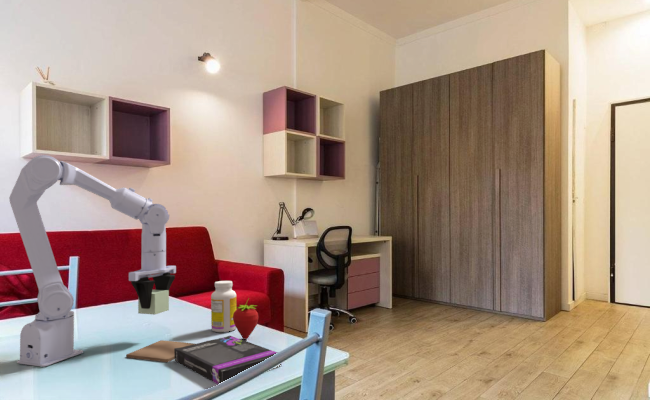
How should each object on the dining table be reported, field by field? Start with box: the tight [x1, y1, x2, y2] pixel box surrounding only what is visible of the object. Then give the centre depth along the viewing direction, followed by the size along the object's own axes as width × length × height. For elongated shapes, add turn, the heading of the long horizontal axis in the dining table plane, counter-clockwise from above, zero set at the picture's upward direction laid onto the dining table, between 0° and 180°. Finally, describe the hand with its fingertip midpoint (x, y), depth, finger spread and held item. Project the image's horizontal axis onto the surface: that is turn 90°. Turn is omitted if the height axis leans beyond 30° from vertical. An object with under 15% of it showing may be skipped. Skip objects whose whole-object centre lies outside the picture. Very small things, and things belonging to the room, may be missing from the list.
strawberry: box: [233, 297, 259, 340], centre depth 104 cm, size 6×8×10 cm
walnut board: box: [126, 339, 195, 363], centre depth 95 cm, size 11×11×1 cm
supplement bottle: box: [210, 280, 237, 333], centre depth 113 cm, size 7×7×13 cm
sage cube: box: [137, 289, 170, 316], centre depth 104 cm, size 5×5×5 cm
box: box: [174, 335, 282, 385], centre depth 87 cm, size 14×4×20 cm
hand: (153, 305), depth 104 cm, fingers closed on sage cube, 5 cm apart
